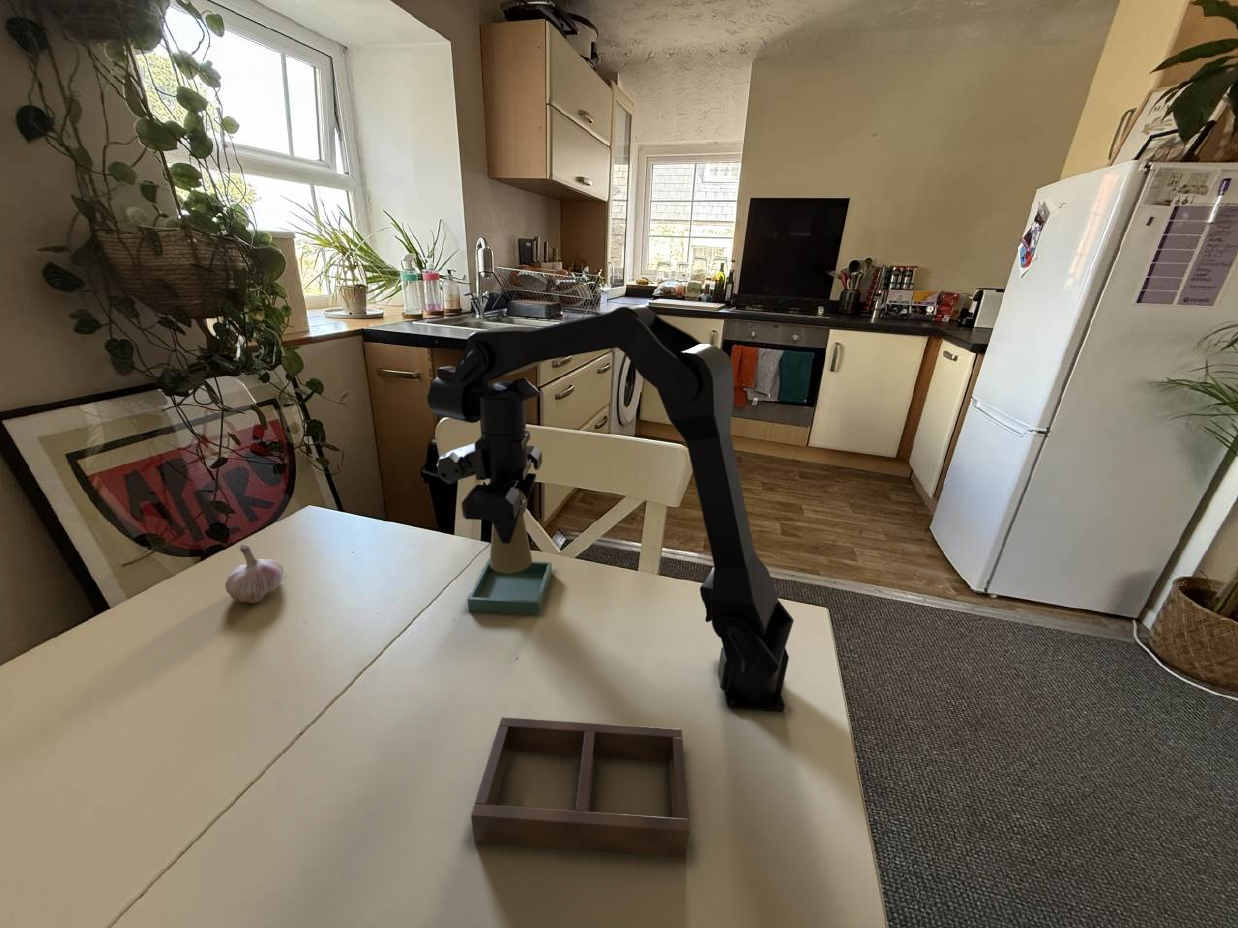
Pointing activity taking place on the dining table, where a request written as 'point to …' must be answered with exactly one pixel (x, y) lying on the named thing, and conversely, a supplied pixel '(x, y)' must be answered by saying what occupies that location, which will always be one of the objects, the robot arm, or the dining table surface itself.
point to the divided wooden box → (583, 790)
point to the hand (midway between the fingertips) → (510, 534)
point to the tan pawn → (512, 547)
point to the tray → (511, 590)
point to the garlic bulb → (253, 578)
